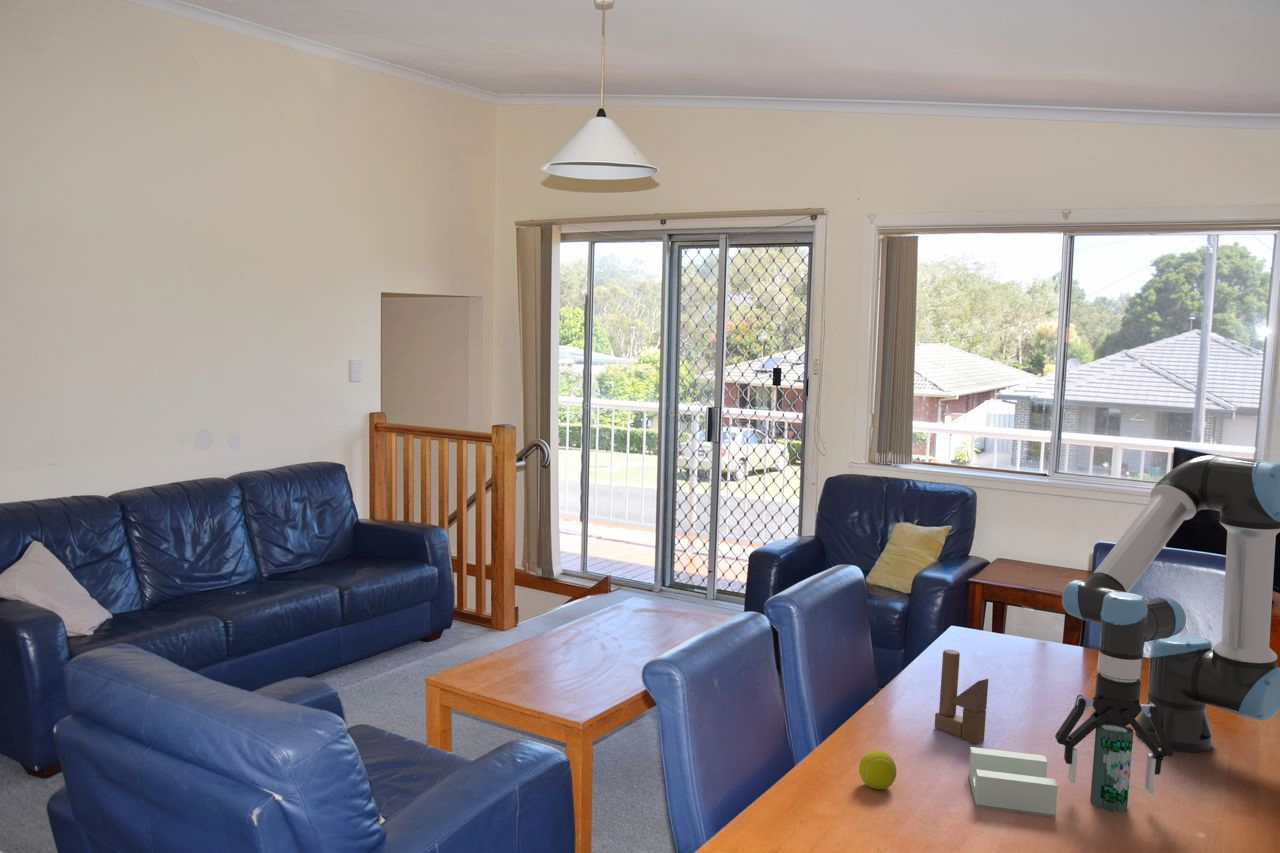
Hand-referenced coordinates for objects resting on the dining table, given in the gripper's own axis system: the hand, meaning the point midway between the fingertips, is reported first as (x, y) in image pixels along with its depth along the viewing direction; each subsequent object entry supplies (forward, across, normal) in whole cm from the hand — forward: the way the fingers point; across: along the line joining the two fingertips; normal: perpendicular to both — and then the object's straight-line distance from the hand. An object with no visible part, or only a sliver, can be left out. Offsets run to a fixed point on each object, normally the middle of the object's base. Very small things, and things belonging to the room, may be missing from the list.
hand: (1110, 785), depth 191 cm
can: (+4, 0, 0) cm, 4 cm away
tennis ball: (+4, +43, +6) cm, 44 cm away
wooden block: (+4, +25, -27) cm, 37 cm away
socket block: (+4, +18, +2) cm, 18 cm away
